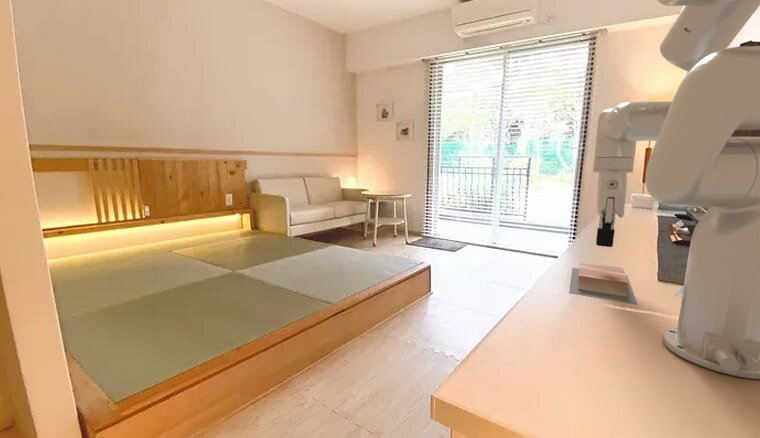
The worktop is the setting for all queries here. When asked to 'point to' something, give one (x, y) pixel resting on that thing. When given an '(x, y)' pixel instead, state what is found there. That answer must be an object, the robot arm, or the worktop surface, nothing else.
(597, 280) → the wooden block
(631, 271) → the worktop surface
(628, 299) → the mat
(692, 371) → the worktop surface
